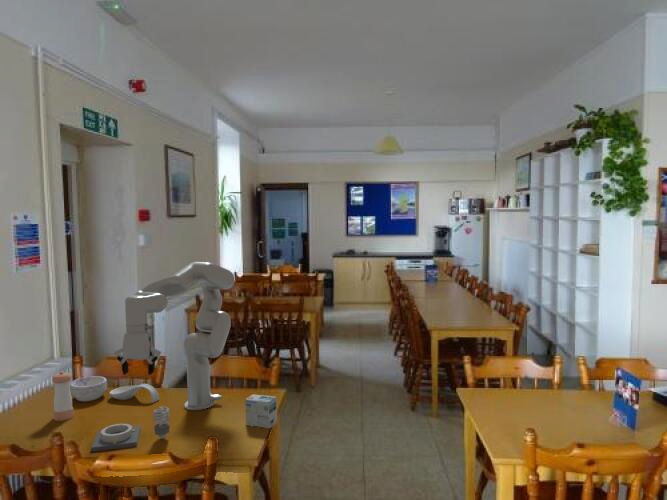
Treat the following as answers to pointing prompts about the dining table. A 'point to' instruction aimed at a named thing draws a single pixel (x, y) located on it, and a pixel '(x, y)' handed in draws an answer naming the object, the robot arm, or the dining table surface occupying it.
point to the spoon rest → (133, 392)
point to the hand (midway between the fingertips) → (138, 373)
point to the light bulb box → (261, 411)
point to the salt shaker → (62, 397)
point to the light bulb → (161, 427)
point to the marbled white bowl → (88, 388)
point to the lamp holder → (116, 437)
